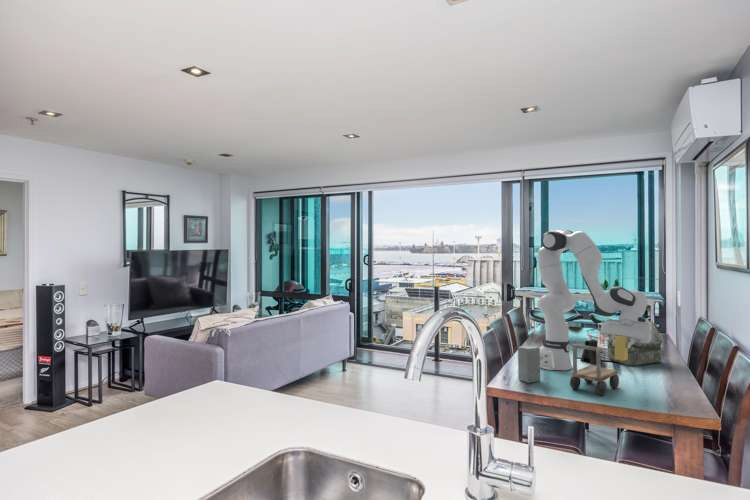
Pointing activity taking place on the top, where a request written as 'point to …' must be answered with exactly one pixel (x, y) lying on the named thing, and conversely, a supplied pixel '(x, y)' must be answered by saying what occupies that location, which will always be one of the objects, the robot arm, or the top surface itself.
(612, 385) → the trolley
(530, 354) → the gray hexagonal prism
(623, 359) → the yellow rectangular block
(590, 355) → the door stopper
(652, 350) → the lunch bag
